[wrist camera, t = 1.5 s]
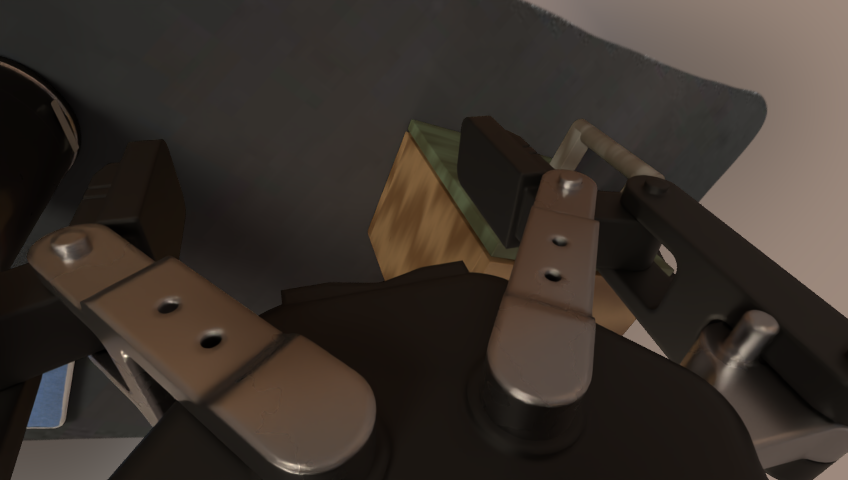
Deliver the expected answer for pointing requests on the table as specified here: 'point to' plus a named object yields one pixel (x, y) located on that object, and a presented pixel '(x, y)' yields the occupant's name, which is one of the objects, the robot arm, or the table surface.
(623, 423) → the robot arm
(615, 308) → the cupboard
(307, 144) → the table surface
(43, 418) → the tablet
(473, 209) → the door
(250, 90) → the table surface
